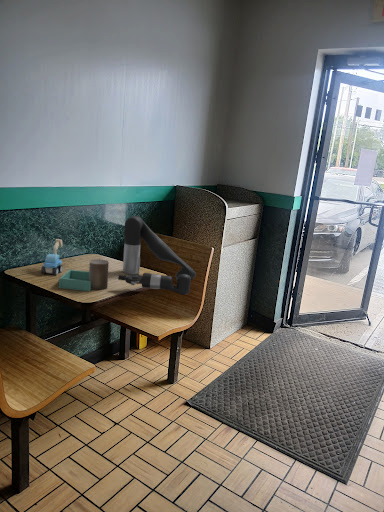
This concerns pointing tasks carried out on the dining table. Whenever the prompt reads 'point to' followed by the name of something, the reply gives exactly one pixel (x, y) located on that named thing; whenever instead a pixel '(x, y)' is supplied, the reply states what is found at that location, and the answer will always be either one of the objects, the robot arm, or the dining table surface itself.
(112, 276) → the dining table surface
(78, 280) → the teal square tray
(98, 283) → the pillar candle
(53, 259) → the toy excavator
